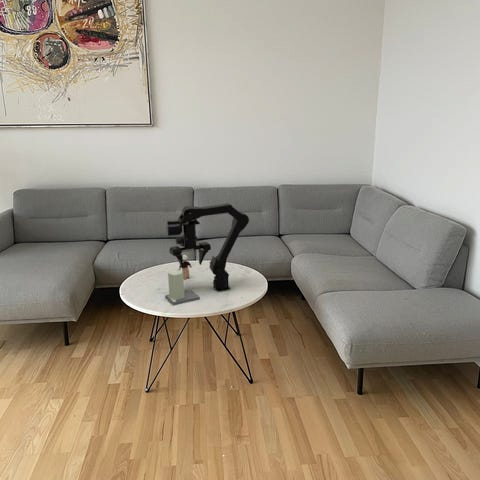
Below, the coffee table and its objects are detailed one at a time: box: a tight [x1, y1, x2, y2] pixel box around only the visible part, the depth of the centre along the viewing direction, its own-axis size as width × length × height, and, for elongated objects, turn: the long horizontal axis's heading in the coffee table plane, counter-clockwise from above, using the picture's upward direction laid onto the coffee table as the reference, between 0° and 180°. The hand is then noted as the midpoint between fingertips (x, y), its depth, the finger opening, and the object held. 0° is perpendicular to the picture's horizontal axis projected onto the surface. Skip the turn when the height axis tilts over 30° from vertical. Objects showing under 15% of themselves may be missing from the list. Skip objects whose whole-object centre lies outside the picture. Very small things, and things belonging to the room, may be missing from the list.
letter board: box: [165, 289, 201, 306], centre depth 205 cm, size 13×10×1 cm
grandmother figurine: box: [178, 254, 192, 281], centre depth 228 cm, size 8×4×13 cm, turn 141°
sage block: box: [167, 269, 185, 301], centre depth 201 cm, size 5×5×12 cm
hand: (191, 266), depth 209 cm, fingers open, 9 cm apart
